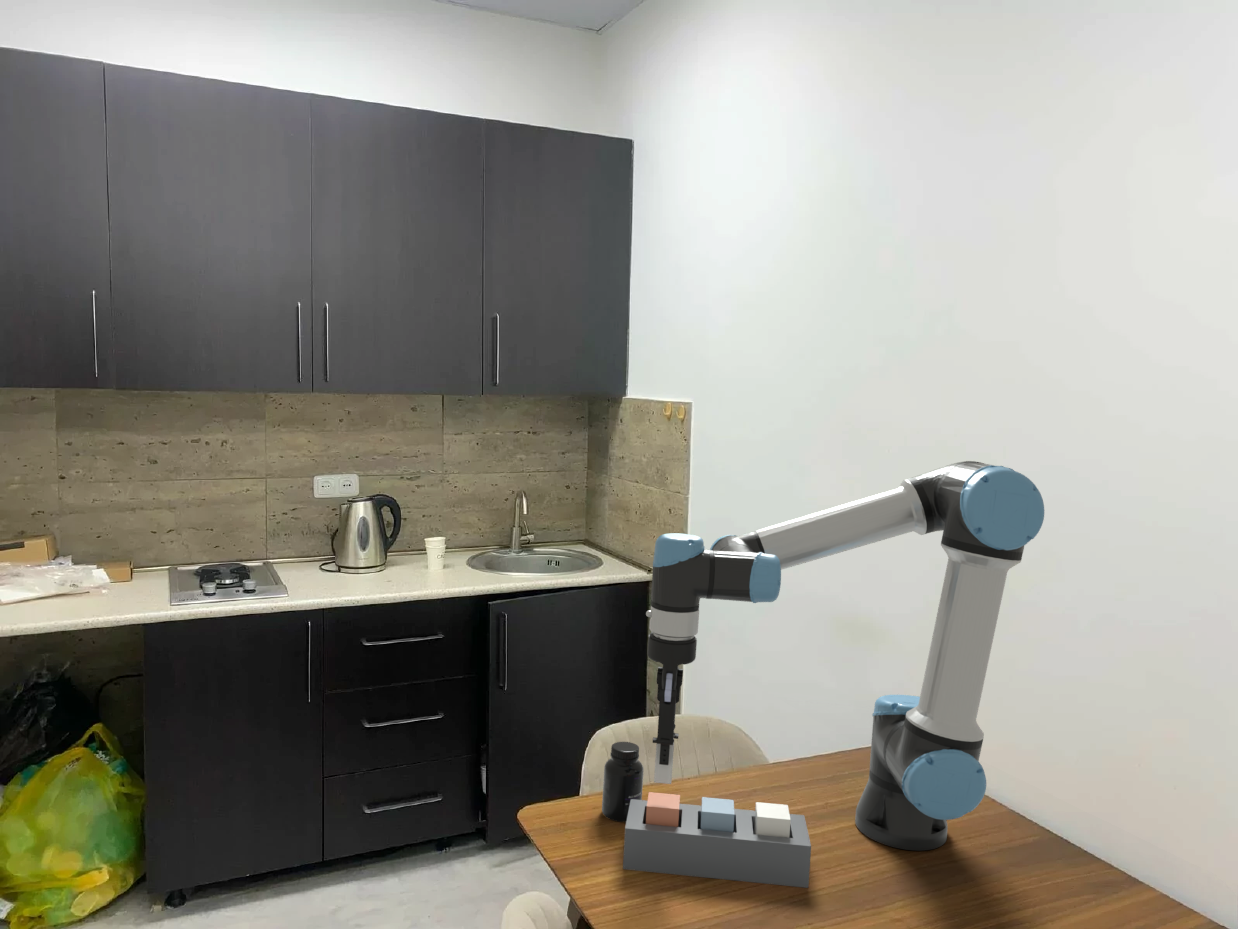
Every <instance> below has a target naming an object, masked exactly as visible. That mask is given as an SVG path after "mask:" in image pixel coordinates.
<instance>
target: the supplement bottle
mask: <svg viewBox="0 0 1238 929" xmlns="http://www.w3.org/2000/svg"><path fill="white" fill-rule="evenodd" d="M609 755H610V758H609V759H608V760H607V761H606V762H605V763H604V769H603V783H602V797H601V798H602V801H601V803H602V804H601V812H602V814H603V816H605V818H607V819H609V820H611V821H614V822H621V823H622V822H623V823H626V821H627V816H628V811H629V806H630V801H631V799H636V800H643V785H644V766H643V763H642V762H641V761H640V760H639V759H640V747H639V745H638V744H636V743H634V742H631V741H617V742H614V743H613V744H611V748H610V754H609Z"/></svg>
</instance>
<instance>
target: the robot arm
mask: <svg viewBox="0 0 1238 929" xmlns="http://www.w3.org/2000/svg"><path fill="white" fill-rule="evenodd" d="M1044 518H1045V505H1044V500H1043V497H1042V494H1041V492H1040V490H1039V488H1037V486H1036V484H1035V483H1034V482H1033V481H1032V480H1031V479H1030V478H1029V477H1028V476H1026V475H1025V474H1023V473H1020V472H1018V471H1015V470H1014V469H1013V468H1011V467H1008V466H1007V467H1006V466H1004V465H994V464H990V463H985V462H984V463H983V462H981V461H975V460H973V461H972V460H966V461H960V462H955V463H951V464H948V465H945V466H942V467H939V468H936V469H933V470H930V471H927V472H924V473H922V474H919V475H916V476H913V477H909V478H906V479H903V480H902V481H901V483H900V485H899V487H898V488H895V489H890V490H888V491H885V492H881V493H880V492H879V493H878V494H874V495H873V494H872V495H871V496H867V497H864V498H861V499H857V500H854V501H850V502H847V503H844V504H843V503H842V504H841V505H837V506H833V507H830V508H827V509H824V510H821V511H817V512H813V513H810V514H806V515H804V516H801V517H797V518H794V519H790V520H787V521H784V522H781V523H777V524H774V525H773V524H772V525H770V526H767V527H763V528H760V529H756V530H754V531H751V532H747V533H743V534H740V535H736V534H734V535H733V534H726V535H722V536H719V538H717V539H716V540H715V541H714V542H713V543H712V545H711V546H710V548H709V549H707V548H706V547H705V545H704V544H705V541H704V539H703V538H702V537H700V536H699V535H695V534H688V533H678V532H675V533H674V532H671V533H664V534H663V533H662V534H661V535H659V536H658V537H657V539H656V540H655V542H654V543H655V545H654V552H653V561H652V572H651V573H652V575H651V576H652V577H651V595H650V610H647V611H645V615H646V617H648V618H650V619H649V627H648V628H649V631H651V632H650V633H649V634H648V637H647V638H648V639H647V650H646V652H647V653H646V654H647V657H648V658H649V659H650V661H651V660H652V661H653V662H655V663H659V664H661V665H662V666H658V667H657V672H656V684H657V697H656V699H657V701H658V702H659V704H658V705H659V707H658V720H657V737H652V743H653V744H656V746H655V747H656V748H655V761H654V777H653V783H655V784H656V783H658V784H666V785H672V778H673V764H674V750H675V749H674V748H675V740H676V739H677V740H679V737H680V736H679V735H680V734H679V733H676V732H675V730H676V713H677V712H676V711H677V704H678V703H679V701H680V698H681V697H680V696H681V687H682V684H683V676H684V668H680V667H679V666H681V665H688V664H691V663H693V662H694V661H695V660H696V657H697V656H696V655H697V643H698V640H697V637H696V635H698V632H699V619H700V618H699V617H700V601H701V599H706V600H722V601H733V602H734V601H736V602H747V603H748V602H749V603H752V604H756V603H773V602H775V601H777V599H778V597H779V595H780V592H781V591H780V590H781V583H782V570H785V569H789V568H792V567H795V566H800V565H803V564H806V563H809V562H812V561H817V560H819V559H823V558H826V557H829V556H833V555H836V554H840V553H843V552H847V551H850V550H851V551H852V550H853V549H857V548H861V547H864V546H868V545H870V544H873V543H874V544H875V543H878V542H882V541H885V540H887V539H888V540H889V539H891V538H895V537H898V536H901V535H906V534H907V533H912V532H915V533H916V534H918V535H920V536H922V535H923V536H924V535H927V534H930V533H934V532H941V531H942V537H941V541H940V546H941V547H942V549H943V550H944V552H945V554H946V555H947V557H948V559H947V564H946V570H945V573H944V574H945V575H944V578H943V584H942V588H941V592H940V599H939V603H938V608H937V613H936V617H935V622H934V628H933V632H932V637H931V642H930V647H929V653H928V658H927V661H926V668H925V671H924V677H923V681H922V685H921V691H920V695H918V696H916V695H910V694H884V695H882V696H880V697H878V698H876V700H875V702H874V709H873V713H872V714H871V715H872V717H873V718H872V727H871V728H872V732H871V743H870V744H871V745H870V755H869V756H870V757H869V760H870V761H869V773H868V779H867V780H868V781H867V782H866V785H865V787H864V789H863V791H862V794H861V796H860V798H859V800H858V803H857V805H856V808H855V818H854V822H855V825H856V828H857V829H858V830H859V831H860V832H861V833H862V834H864V836H866V837H868V839H869V838H870V839H871V840H873V841H875V842H877V843H880V844H881V845H885V846H888V847H892V848H895V849H899V850H900V849H901V850H907V851H916V852H917V851H931V850H934V849H938V848H940V847H942V846H943V845H944V844H946V842H947V839H948V838H947V837H948V829H949V828H948V821H949V820H950V821H951V820H955V819H959V818H962V817H963V816H965V815H966V814H968V813H971V812H972V811H974V810H975V809H976V808H977V807H978V806H979V804H981V802H982V801H983V799H984V796H985V794H986V790H987V777H986V774H985V770H984V767H983V766H982V764H981V762H980V756H981V753H982V752H981V751H982V746H983V743H984V742H983V741H984V735H985V734H984V732H983V730H982V728H981V727H980V725H979V724H978V723H977V717H978V713H979V707H980V703H981V698H982V693H983V689H984V684H985V679H986V675H987V670H988V666H989V660H990V657H991V652H992V646H993V642H994V641H993V640H994V637H995V632H996V627H997V622H998V618H999V614H1000V609H1001V604H1002V599H1003V594H1004V589H1005V585H1006V580H1007V575H1008V572H1009V570H1010V569H1012V568H1014V567H1015V566H1017V565H1018V564H1020V563H1022V558H1023V553H1024V550H1025V546H1026V545H1027V544H1028V543H1029V542H1031V540H1033V539H1035V537H1036V536H1037V535H1038V534H1039V533H1040V530H1041V528H1042V526H1043V523H1044V521H1045V519H1044Z"/></svg>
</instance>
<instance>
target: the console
mask: <svg viewBox="0 0 1238 929" xmlns="http://www.w3.org/2000/svg"><path fill="white" fill-rule="evenodd" d="M647 801H648V799H647V800H645V799H642V800H636V799H631V801H630V806H629V811H628V816H627V821H626V822H625V826H624V839H623V840H624V843H623V862H622V869H623V870H628V871H637V872H639V871H640V872H648V873H656V874H657V873H658V874H666V875H667V874H668V875H677V876H686V877H687V876H688V877H696V878H697V877H698V878H707V879H708V878H709V879H717V880H718V879H719V880H726V881H727V880H729V881H737V882H747V883H756V884H767V885H775V886H777V885H778V886H787V887H795V888H806V889H807V888H809V884H810V883H809V882H810V870H811V854H812V845H811V844H812V843H811V841H810V836H809V834H810V833H809V830H808V826H807V822H806V818H805V815H804V814H795V813H794V814H793V813H789V814H790V820H791V821H790V835H789V838H786V837H776V836H766V835H755V834H754V823H755V810H750V809H740V808H734V830H733V832H724V831H714V830H703V829H700V823H701V806H702V805H698V804H689V803H680V805H679V823H678V827H672V826H662V825H651V824H646V810H647Z"/></svg>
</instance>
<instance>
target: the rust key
mask: <svg viewBox="0 0 1238 929" xmlns="http://www.w3.org/2000/svg"><path fill="white" fill-rule="evenodd" d="M680 800H681V794H674V793H673V794H672V793H663V792H651V791H649V792H648V796H647V810H646V824H651V825H662V826H672V827H678V823H679V805H680V804H681V802H680Z"/></svg>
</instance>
